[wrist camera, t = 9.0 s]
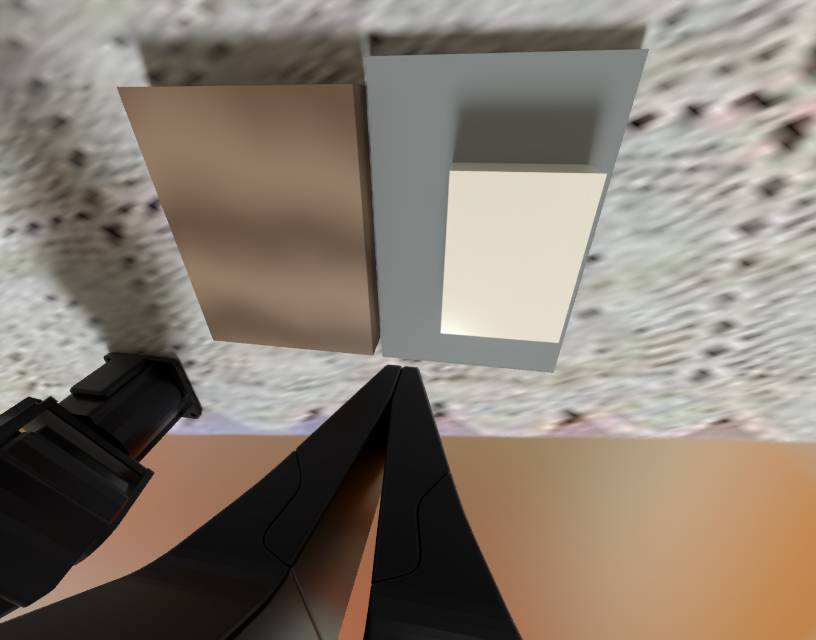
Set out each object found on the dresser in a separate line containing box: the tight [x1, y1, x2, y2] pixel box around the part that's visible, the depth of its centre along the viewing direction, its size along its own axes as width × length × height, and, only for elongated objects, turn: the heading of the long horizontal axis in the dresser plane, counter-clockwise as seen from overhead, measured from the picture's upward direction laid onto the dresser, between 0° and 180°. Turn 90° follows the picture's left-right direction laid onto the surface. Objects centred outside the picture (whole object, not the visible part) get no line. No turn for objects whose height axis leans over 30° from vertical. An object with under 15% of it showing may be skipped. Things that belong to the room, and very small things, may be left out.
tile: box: [441, 162, 607, 343], centre depth 16 cm, size 8×6×2 cm
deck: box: [117, 84, 380, 355], centre depth 19 cm, size 14×11×2 cm
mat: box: [366, 49, 649, 373], centre depth 18 cm, size 16×11×1 cm
